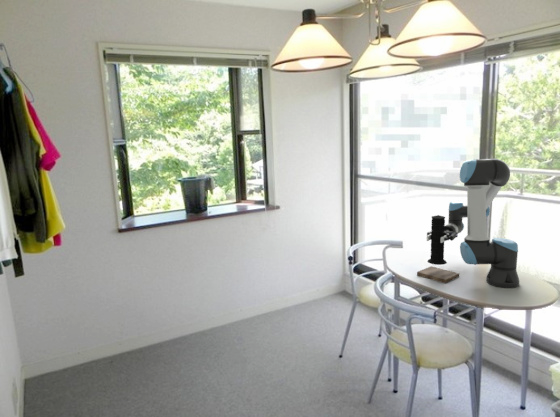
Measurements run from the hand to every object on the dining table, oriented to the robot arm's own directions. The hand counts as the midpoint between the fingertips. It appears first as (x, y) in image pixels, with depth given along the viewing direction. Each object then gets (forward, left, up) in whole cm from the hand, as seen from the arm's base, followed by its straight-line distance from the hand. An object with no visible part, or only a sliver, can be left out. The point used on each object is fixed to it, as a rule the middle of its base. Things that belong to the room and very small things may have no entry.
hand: (434, 239), depth 215 cm
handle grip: (+1, -5, -14) cm, 15 cm away
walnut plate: (0, -5, -22) cm, 23 cm away
